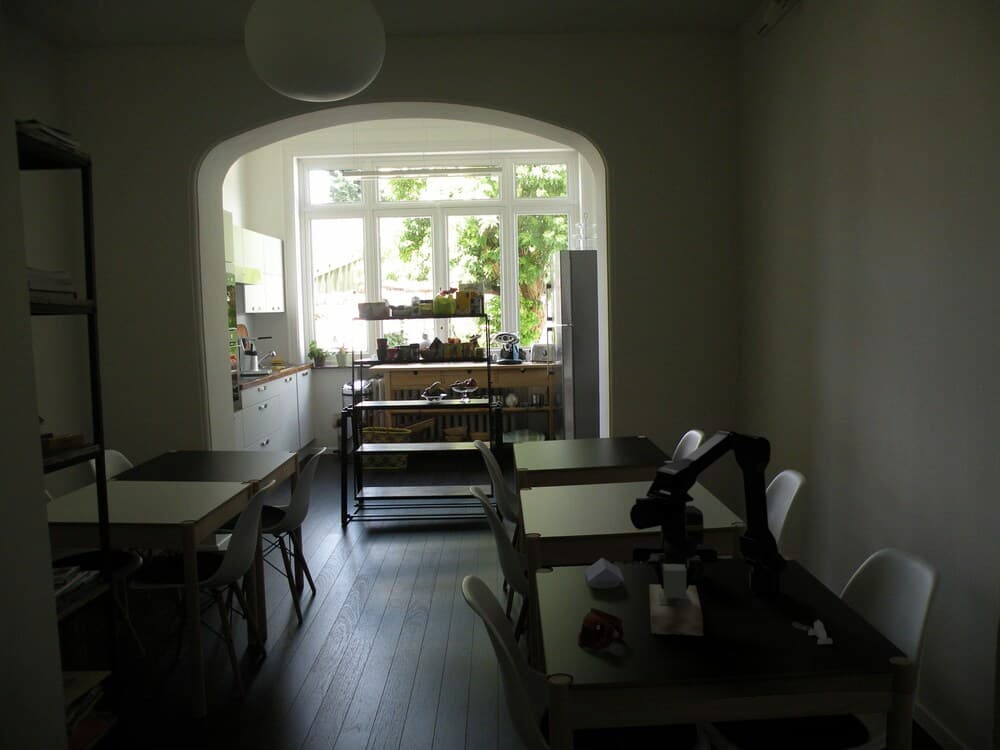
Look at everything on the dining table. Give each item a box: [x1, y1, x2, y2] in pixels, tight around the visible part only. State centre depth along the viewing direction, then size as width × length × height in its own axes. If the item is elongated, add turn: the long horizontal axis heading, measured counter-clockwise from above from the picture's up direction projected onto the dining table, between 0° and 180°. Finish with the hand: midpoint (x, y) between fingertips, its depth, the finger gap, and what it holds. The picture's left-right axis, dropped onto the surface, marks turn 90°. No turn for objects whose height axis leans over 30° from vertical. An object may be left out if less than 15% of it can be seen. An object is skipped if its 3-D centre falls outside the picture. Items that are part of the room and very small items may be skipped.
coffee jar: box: [672, 505, 705, 583], centre depth 209 cm, size 10×8×19 cm
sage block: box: [662, 563, 687, 598], centre depth 183 cm, size 5×5×6 cm
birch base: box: [648, 583, 704, 637], centre depth 183 cm, size 11×20×4 cm, turn 171°
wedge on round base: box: [584, 557, 625, 589], centre depth 206 cm, size 9×7×13 cm
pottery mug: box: [577, 607, 624, 652], centre depth 170 cm, size 12×10×8 cm
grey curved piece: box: [791, 619, 833, 645], centre depth 173 cm, size 15×7×4 cm, turn 2°
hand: (674, 588), depth 183 cm, fingers closed on sage block, 5 cm apart
